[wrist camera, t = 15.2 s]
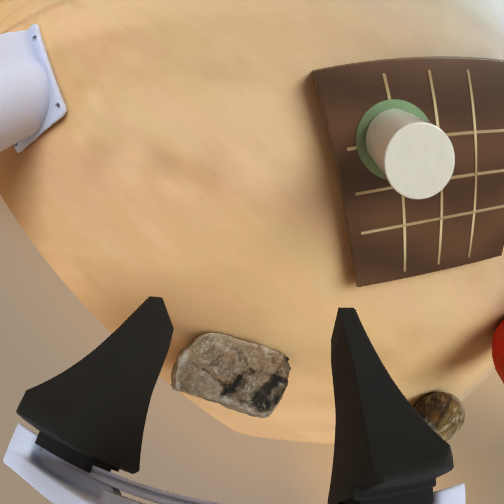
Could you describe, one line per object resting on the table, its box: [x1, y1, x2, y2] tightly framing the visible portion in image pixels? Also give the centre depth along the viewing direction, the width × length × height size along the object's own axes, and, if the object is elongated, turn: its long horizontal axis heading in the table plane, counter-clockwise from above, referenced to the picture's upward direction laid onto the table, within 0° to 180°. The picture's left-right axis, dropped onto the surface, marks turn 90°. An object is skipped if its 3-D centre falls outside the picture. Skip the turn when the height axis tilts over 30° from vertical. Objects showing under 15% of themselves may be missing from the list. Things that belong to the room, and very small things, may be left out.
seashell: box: [414, 392, 465, 441], centre depth 32 cm, size 11×9×8 cm
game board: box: [312, 57, 504, 287], centre depth 16 cm, size 16×14×1 cm
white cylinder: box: [366, 109, 455, 199], centre depth 13 cm, size 4×4×4 cm
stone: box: [171, 332, 291, 418], centre depth 28 cm, size 7×12×7 cm, turn 80°
